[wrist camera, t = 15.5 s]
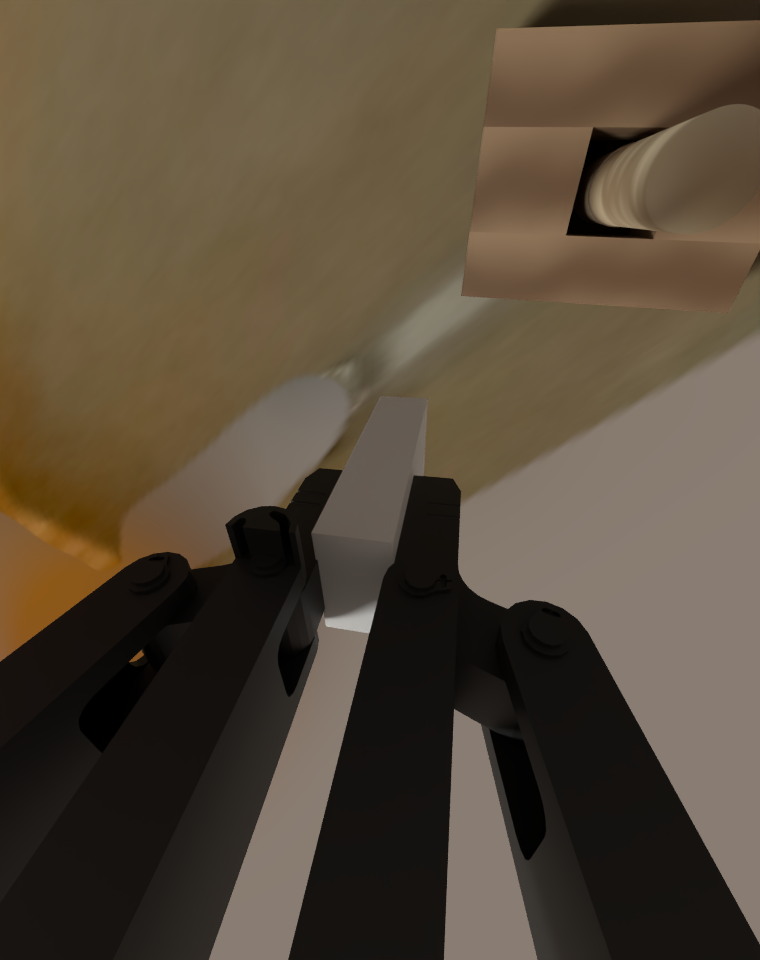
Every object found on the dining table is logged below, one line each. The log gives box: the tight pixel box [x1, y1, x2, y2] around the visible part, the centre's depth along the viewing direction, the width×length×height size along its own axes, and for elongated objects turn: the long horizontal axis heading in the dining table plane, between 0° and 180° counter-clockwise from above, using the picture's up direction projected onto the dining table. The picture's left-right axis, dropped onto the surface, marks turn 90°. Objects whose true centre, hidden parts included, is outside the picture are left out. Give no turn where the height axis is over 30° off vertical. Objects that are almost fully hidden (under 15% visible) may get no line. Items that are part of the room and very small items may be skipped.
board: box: [461, 20, 760, 313], centre depth 23 cm, size 12×16×4 cm
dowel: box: [573, 104, 760, 234], centre depth 19 cm, size 4×4×14 cm
